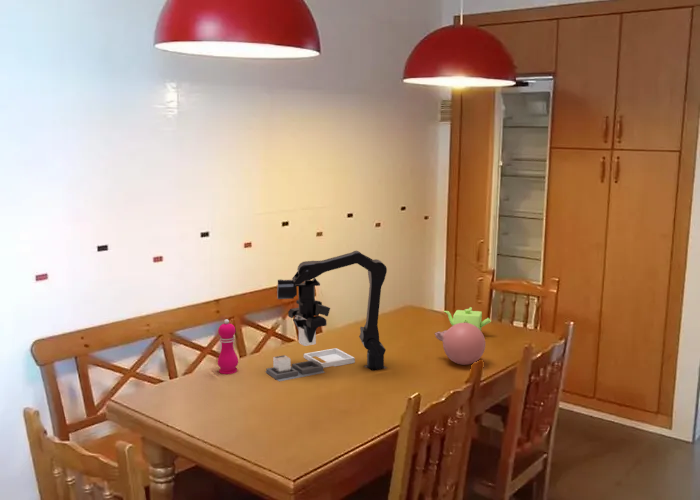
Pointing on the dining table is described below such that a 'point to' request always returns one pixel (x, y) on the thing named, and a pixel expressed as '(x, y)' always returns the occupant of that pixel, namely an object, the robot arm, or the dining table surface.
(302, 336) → the billet loose
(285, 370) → the block
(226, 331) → the pepper mill
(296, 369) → the plate
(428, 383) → the dining table surface
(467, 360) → the balloon
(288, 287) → the robot arm
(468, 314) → the kettle
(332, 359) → the white square tray
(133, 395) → the dining table surface
